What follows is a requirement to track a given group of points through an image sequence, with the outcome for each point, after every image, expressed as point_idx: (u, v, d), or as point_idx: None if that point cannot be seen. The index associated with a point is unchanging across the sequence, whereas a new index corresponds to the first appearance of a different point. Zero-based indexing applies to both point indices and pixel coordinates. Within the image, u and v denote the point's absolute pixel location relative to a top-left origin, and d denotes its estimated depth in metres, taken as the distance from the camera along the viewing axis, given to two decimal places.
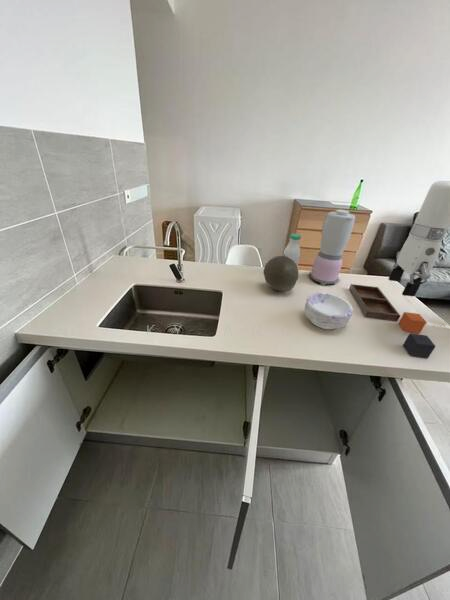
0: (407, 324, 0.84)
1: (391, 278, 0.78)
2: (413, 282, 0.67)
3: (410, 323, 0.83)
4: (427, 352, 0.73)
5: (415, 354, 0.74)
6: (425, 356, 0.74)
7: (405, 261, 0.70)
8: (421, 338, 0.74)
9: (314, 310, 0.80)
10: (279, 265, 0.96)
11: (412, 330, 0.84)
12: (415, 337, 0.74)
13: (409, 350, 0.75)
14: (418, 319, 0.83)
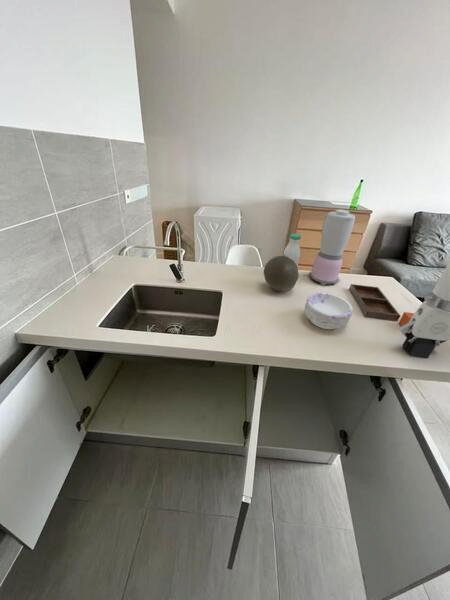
0: None
1: None
2: None
3: None
4: (427, 352, 0.73)
5: (415, 354, 0.74)
6: (425, 356, 0.74)
7: None
8: (421, 338, 0.74)
9: (314, 310, 0.80)
10: (279, 265, 0.96)
11: None
12: None
13: None
14: None
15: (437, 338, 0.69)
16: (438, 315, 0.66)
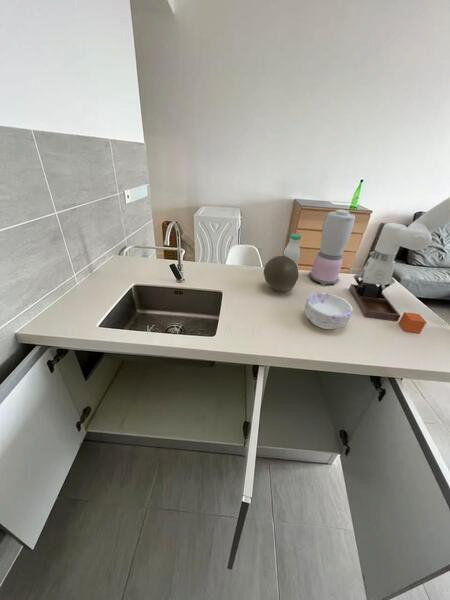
0: (407, 324, 0.84)
1: None
2: None
3: (410, 323, 0.83)
4: (374, 294, 1.01)
5: (366, 296, 1.02)
6: None
7: None
8: (370, 285, 1.02)
9: (314, 310, 0.80)
10: (279, 265, 0.96)
11: (412, 330, 0.84)
12: (366, 284, 1.03)
13: (362, 294, 1.03)
14: (418, 319, 0.83)
15: (379, 283, 0.98)
16: (378, 265, 0.95)
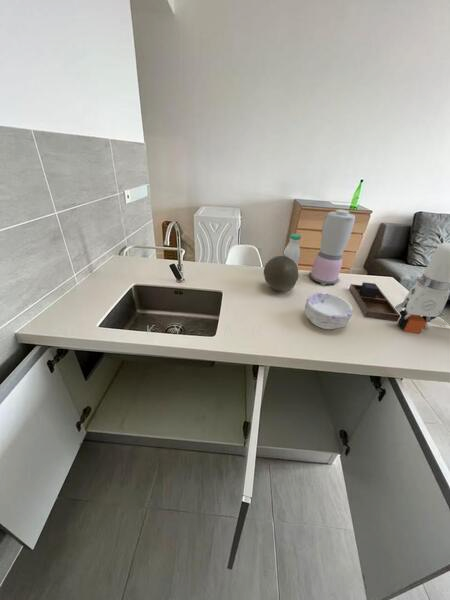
0: (407, 324, 0.84)
1: None
2: (401, 313, 0.85)
3: (410, 323, 0.83)
4: (374, 294, 1.01)
5: (366, 296, 1.02)
6: None
7: None
8: (370, 285, 1.02)
9: (314, 310, 0.80)
10: (279, 265, 0.96)
11: (412, 330, 0.84)
12: (366, 284, 1.03)
13: (362, 294, 1.03)
14: (418, 319, 0.83)
15: (428, 314, 0.80)
16: (428, 294, 0.77)
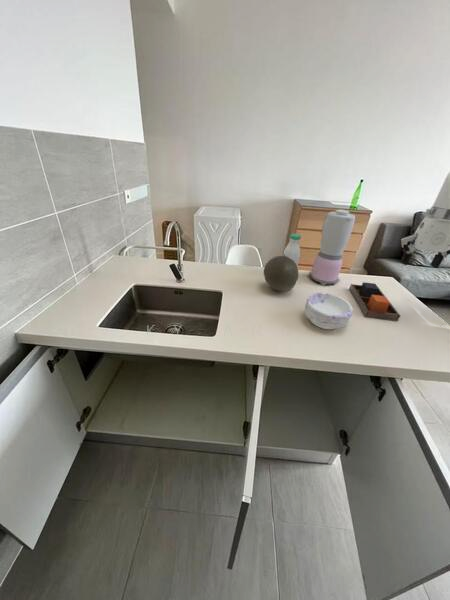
0: (373, 305, 0.93)
1: (431, 263, 0.84)
2: None
3: (376, 304, 0.92)
4: (374, 294, 1.01)
5: (366, 296, 1.02)
6: None
7: None
8: (370, 285, 1.02)
9: (314, 310, 0.80)
10: (279, 265, 0.96)
11: (377, 310, 0.93)
12: (366, 284, 1.03)
13: (362, 294, 1.03)
14: (383, 300, 0.92)
15: (437, 249, 0.78)
16: (438, 225, 0.75)
